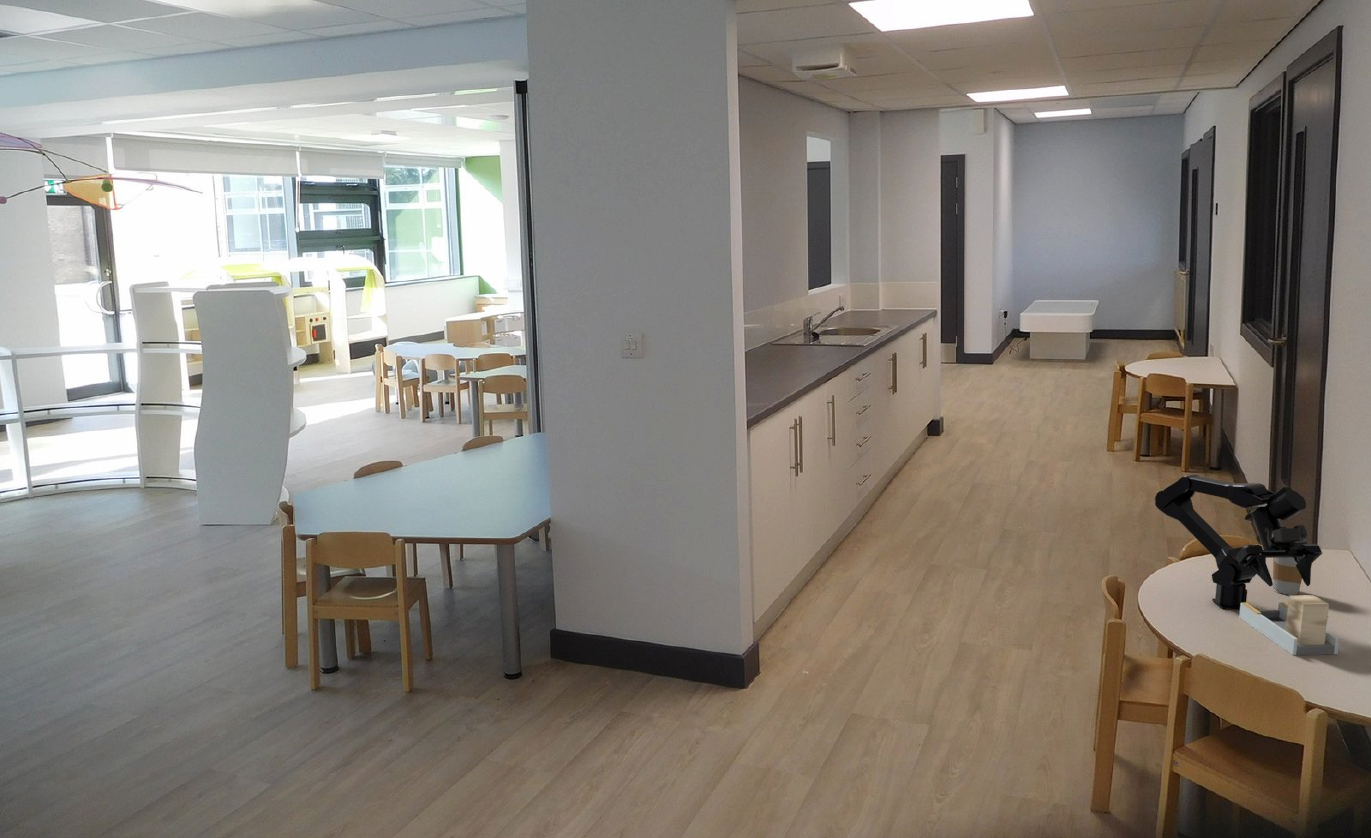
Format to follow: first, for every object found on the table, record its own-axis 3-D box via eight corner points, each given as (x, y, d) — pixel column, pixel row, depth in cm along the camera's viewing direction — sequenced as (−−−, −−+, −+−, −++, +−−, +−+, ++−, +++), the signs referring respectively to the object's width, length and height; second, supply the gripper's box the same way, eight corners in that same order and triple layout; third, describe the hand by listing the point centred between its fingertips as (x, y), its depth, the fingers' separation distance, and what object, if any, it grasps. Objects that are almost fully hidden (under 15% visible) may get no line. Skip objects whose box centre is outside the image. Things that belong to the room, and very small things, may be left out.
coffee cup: (1272, 584, 304) (1277, 532, 301) (1306, 590, 298) (1311, 537, 296) (1265, 592, 297) (1270, 539, 294) (1299, 598, 292) (1305, 545, 289)
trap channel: (1239, 617, 279) (1240, 601, 278) (1280, 617, 279) (1282, 600, 278) (1292, 655, 255) (1294, 637, 254) (1337, 654, 255) (1339, 636, 254)
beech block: (1284, 634, 262) (1289, 595, 260) (1309, 634, 262) (1313, 595, 260) (1299, 644, 256) (1303, 604, 254) (1324, 644, 256) (1328, 604, 254)
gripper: (1247, 513, 267) (1267, 571, 258) (1322, 512, 267) (1344, 570, 259) (1227, 535, 276) (1246, 591, 267) (1300, 534, 277) (1321, 590, 268)
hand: (1290, 585), depth 265 cm, fingers open, 9 cm apart
